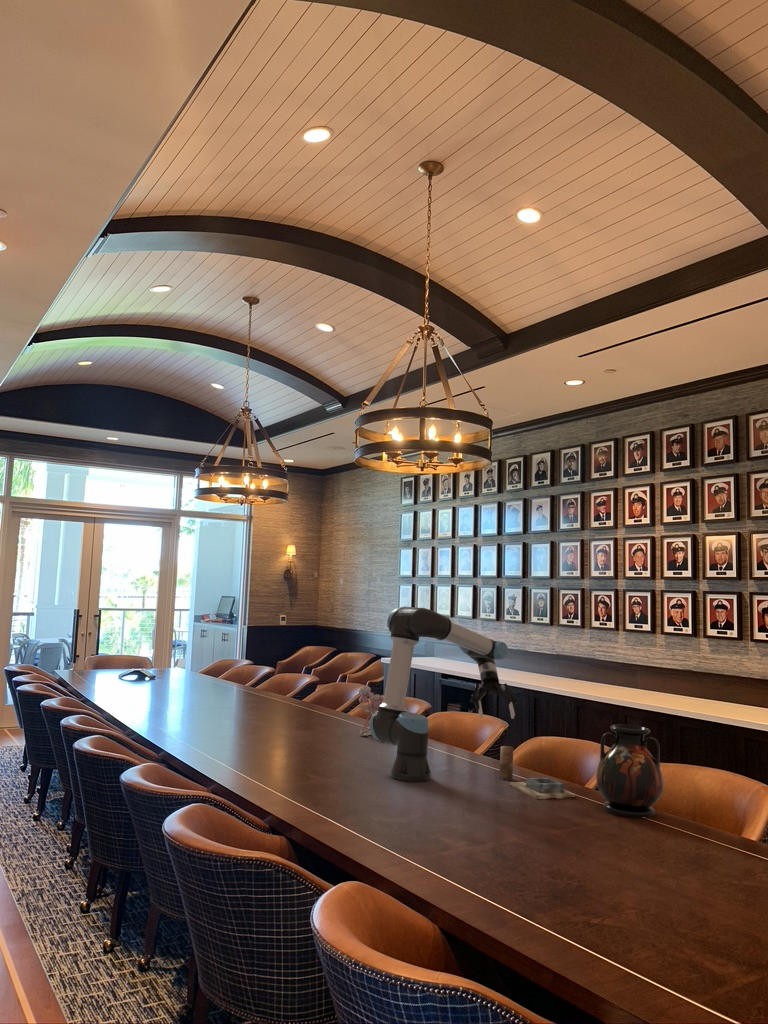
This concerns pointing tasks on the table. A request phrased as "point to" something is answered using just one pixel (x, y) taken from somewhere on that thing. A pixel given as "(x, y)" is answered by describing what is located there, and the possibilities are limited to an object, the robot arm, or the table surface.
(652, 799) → the amphora vase
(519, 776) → the table surface
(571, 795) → the maple board
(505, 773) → the walnut peg
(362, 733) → the flower
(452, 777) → the table surface
